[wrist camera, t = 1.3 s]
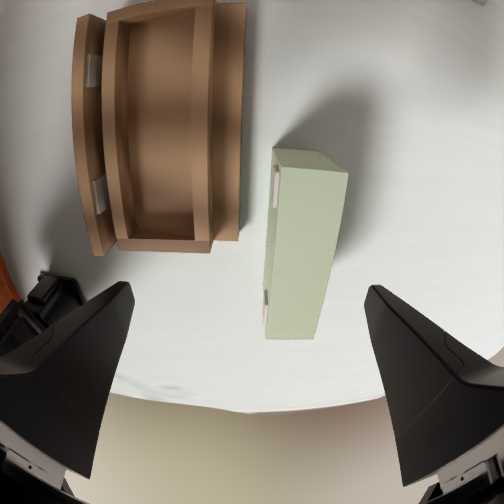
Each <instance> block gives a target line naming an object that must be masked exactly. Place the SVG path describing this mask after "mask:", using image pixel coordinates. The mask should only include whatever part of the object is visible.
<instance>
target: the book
mask: <svg viewBox="0 0 504 504" xmlns="http://www.w3.org/2000/svg"><path fill="white" fill-rule="evenodd" d="M12 299H14V300H16V301H18V302H19V301H20V298H19V296H18V294H17V292H16V289H15V287H14V285H13V283H12V280H11V278H10V276H9V273H8V271H7V269H6V266H5V263H4V261H3V258H2V256H1V253H0V314H1V312H2V311H3V310H4V309H5V307H6V306H7V305H8V304H9V302H10V301H11V300H12Z"/></svg>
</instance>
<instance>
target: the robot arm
mask: <svg viewBox="0 0 504 504" xmlns="http://www.w3.org/2000/svg"><path fill="white" fill-rule="evenodd" d="M38 281H39V282H38V284H37V285H36V286H35V287H34V288H33V289H32V291H31V292H30V293H29V294H28V296H27V298H28V300H27V301H26V303H25V302H24V301H23V300H22V299H21V300H20V301H19V302H18V301H16V300H14V299H12V300H11V301H10V302H9V304H8V305H7V306H6V307H5V309H4V310H3V311H2V312H1V314H0V504H89V503H87V502H84V501H82V500H80V499H78V498H76V497H75V496H74V495H73V493H72V491H71V489H70V488H69V486H68V483H67V481H66V479H65V478H64V475H65V471H66V469H67V470H69V471H71V472H73V473H75V474H78V475H80V476H82V477H85V478H87V479H90V476H91V470H92V465H93V460H94V454H95V450H96V445H97V440H98V436H99V430H100V427H101V422H102V418H103V414H104V411H105V406H106V403H107V399H108V396H109V392H110V389H111V385H112V382H113V378H114V375H115V372H116V369H117V365H118V362H119V359H120V356H121V353H122V350H123V347H124V344H125V341H126V338H127V334H128V330H129V325H130V321H131V317H132V313H133V309H134V305H135V299H134V296H133V292H132V289H131V286H130V283H129V282H124V281H119V282H117V283H115V284H114V285H112V286H111V287H109V288H108V289H106V290H104V291H103V292H101V293H100V294H98V295H97V296H95V297H94V298H92V299H91V300H89V301H88V302H86V303H85V302H84V299H83V297H82V294H81V291H80V289H79V286H78V283H77V281H76V280H75V279H73V278H66V277H57V276H49V275H39V276H38ZM364 309H365V313H366V318H367V323H368V329H369V334H370V339H371V343H372V347H373V350H374V354H375V357H376V360H377V364H378V368H379V371H380V375H381V379H382V383H383V386H384V390H385V394H386V398H387V402H388V407H389V411H390V415H391V420H392V425H393V430H394V435H395V440H396V446H397V451H398V457H399V463H400V470H401V476H402V483H403V486H404V487H405V486H408V485H411V484H413V483H416V482H418V481H421V480H423V479H426V478H428V477H430V476H433V475H435V474H438V478H439V482H438V483H436V484H434V485H432V486H430V487H428V489H427V491H426V493H425V494H424V496H423V498H422V499H421V501H420V502H419V504H504V367H500V366H496V365H494V364H492V363H491V362H489V361H488V360H486V359H485V358H483V357H482V356H480V355H479V354H477V353H476V352H474V351H472V350H471V349H469V348H468V347H466V346H465V345H464V344H462V343H461V342H459V341H458V340H456V339H455V338H454V337H452V336H451V335H450V334H448V333H447V332H446V331H444V330H443V329H442V328H440V327H439V326H438V325H436V324H435V323H434V322H432V321H431V320H429V319H428V318H427V317H425V316H424V315H423V314H421V313H420V312H418V311H417V310H416V309H414V308H413V307H412V306H410V305H409V304H407V303H406V302H404V301H403V300H402V299H400V298H399V297H397V296H396V295H394V294H393V293H392V292H390V291H389V290H387V289H386V288H384V287H383V286H381V285H371V286H370V287H369V289H368V293H367V296H366V299H365V303H364Z"/></svg>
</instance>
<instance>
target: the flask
mask: <svg viewBox="0 0 504 504" xmlns="http://www.w3.org/2000/svg"><path fill="white" fill-rule="evenodd" d="M474 1H476V2H478V3H480V4H481V5H484V4H485V3H486V2H487V1H488V0H474Z"/></svg>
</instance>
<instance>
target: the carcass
mask: <svg viewBox="0 0 504 504" xmlns="http://www.w3.org/2000/svg"><path fill="white" fill-rule="evenodd" d="M245 29H246V3H222V4H217V1H216V0H156V1H151V2H147V3H142V4H138V5H134V6H130V7H126V8H122V9H119V10H115V11H112V12H109V13H107V20H103V19H101V18H99V17H96V16H94V15H92V14H87V15H84V16H82V17H79V18H77V25H76V32H75V40H74V50H73V64H72V128H73V142H74V153H75V162H76V170H77V178H78V185H79V191H80V197H81V202H82V208H83V213H84V218H85V223H86V227H87V232H88V236H89V240H90V244H91V248H92V252H93V256H105V254H106V253H107V252H108V251H109V250H110V248H111V247H112V246H113V245H114V244H115V242H116V241H117V243H118V248H119V250H130V251H156V252H183V253H210V251H211V247H212V244H213V240H219V241H238V237H239V205H240V163H241V129H242V100H243V74H244V51H245Z"/></svg>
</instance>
